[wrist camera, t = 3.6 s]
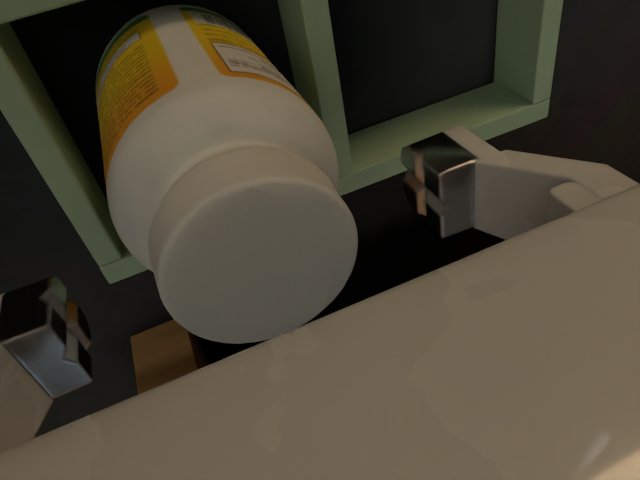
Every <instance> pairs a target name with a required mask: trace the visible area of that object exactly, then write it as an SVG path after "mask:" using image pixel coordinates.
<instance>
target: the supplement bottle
mask: <svg viewBox="0 0 640 480" xmlns="http://www.w3.org/2000/svg"><path fill="white" fill-rule="evenodd" d="M95 91H96V92H95V96H96V103H97V111H98V120H99V127H100V136H101V146H102V153H103V164H104V174H105V183H106V192H107V199H108V206H109V211H110V215H111V218H112V222H113V224H114V227H115V229H116V231H117V233H118V235H119V237H120V239H121V240H122V242H123V243H124V245H125V246H126V248H127V249H128V250H129V251H130V253H131V254H132V255H133V256H134V257H135V258H136V259H137V260H138V261H139V262H140V263H141V264H142V265H144V266H145V267H146V268H148V269H149V270H151V271H152V272H154V276H155V280H156V283H157V287H158V290H159V294H160V297H161V300H162V302H163V304H164V306H165V308H166V309H167V311H168V312H169V313H170V315H171V316H172V317H173V319H174V320H175V321H176V322H178V323H179V324H180V325H181V326H182V327H184V328H185V329H187V330H188V331H190V332H191V333H193V334H195V335H197V336H199V337H201V338H204V339H208V340H212V341H216V342H222V343H236V344H242V343H252V342H258V341H264V340H268V339H271V338H274V337H277V336H279V335H281V334H284V333H286V332H289V331H291V330H293V329H296V328H298V327H300V326H301V325H303V324H305V323H307V322H308V321H310V320H311V319H313V318H314V317H315V316H317V315H318V314H319V313H320V312H321V311H322V310H323V309H324V308H326V307H327V306H328V305H329V304H330V303H331V302H332V301H333V300H334V299H335V298H336V297H337V295H338V294H339V293H340V291H341V290H342V289H343V287H344V285H345V284H346V282H347V280H348V278H349V276H350V275H351V272H352V269H353V267H354V264H355V260H356V256H357V249H358V234H357V228H356V224H355V221H354V218H353V216H352V213H351V212H350V210H349V208H348V206H347V205H346V204H345V202H344V201H343V199H342V198H341V196H340V195H339V194H338V185H339V169H338V160H337V155H336V151H335V148H334V145H333V142H332V139H331V137H330V135H329V133H328V131H327V129H326V127H325V126H324V124H323V122H322V121H321V119H320V118H319V117H318V116H317V114H316V113H315V112H314V111H313V109H312V108H311V107H310V106H309V105H308V103H307V102H306V101H305V100H304V99H303V98H302V97H301V95H300V94H299V93H298V92H297V91H296V90H295V88H294V87H293V86H292V85H291V84H290V83H289V82H288V81H287V80H286V79H285V77H284V76H283V75H282V74H281V73H280V72H279V71H278V70H277V69H276V68H275V66H274V65H273V64H272V63H271V62H270V61H269V60H268V59H267V57H266V56H265V55H264V54H263V52H262V51H261V50H260V49H259V48H258V47H257V46H256V45H255V43H254V42H253V41H252V40H251V39H250V38H249V37H248V36H247V35H246V34H245V33H244V32H243V31H242V30H241V29H240V28H239V27H238V26H237V25H236V24H234V23H233V22H232V21H230V20H229V19H227V18H225V17H224V16H222V15H220V14H218V13H216V12H214V11H211V10H209V9H206V8H202V7H198V6H192V5H167V6H161V7H157V8H153V9H150V10H148V11H146V12H143V13H141V14H139V15H137V16H135V17H134V18H132V19H131V20H129V21H128V22H127V23H125V24H124V25H123V26H122V28H121V29H120V30H119V31H118V32H117V33H116V34H115V35H114V37H113V38H112V40H111V41H110V42H109V44H108V45H107V47H106V49H105V51H104V53H103V55H102V57H101V60H100V62H99V66H98V70H97V75H96V87H95Z"/></svg>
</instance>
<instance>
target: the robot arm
mask: <svg viewBox="0 0 640 480" xmlns="http://www.w3.org/2000/svg"><path fill="white" fill-rule="evenodd" d="M401 162H402V164H403V165H404V166H405V167H406V168H407V169H408V170H407V172H406V174H405V176H404V178H403V183H404V191H405V193H406V196H407V199H408V201H409V203H410V205H411V206H412V208H413V209H414V210H415V211H416V212H417V213H418V214H422V215H426V216H427V224H428V225H429V226H430V227H431V228H432V229H433V230H434V231H435V232H436V233H437V234H438V235H439V236H440V237H441V238H445V237H447V236H450V235H453V234H455V233H458V232H461V231H463V230H466V229H469V228H471V227H474V228H475V229H478V230H481V231H483V232H486V233H489V234H491V235H494V236H497V237H500V238H502V239H505V241H503V242H501V243H498V244H496V245H493V246H491V247H489V248H486V249H484V250H481V251H479V252H477V253H474V254H472V255H470V256H467V257H465V258H462V259H460V260H458V261H455V262H453V263H451V264H448V265H446V266H443V267H441V268H439V269H436V270H434V271H431V272H429V273H427V274H424V275H422V276H420V277H417V278H415V279H412V280H410V281H408V282H405V283H403V284H401V285H398V286H396V287H393V288H391V289H389V290H386V291H384V292H382V293H379V294H377V295H374V296H372V297H370V298H367V299H365V300H362V301H360V302H358V303H355V304H353V305H351V306H348V307H346V308H343V309H341V310H339V311H336V312H334V313H332V314H329V315H327V316H324V317H322V318H320V319H317V320H315V321H312V322H310V323H308V324H305V325H303V326H301V327H298V328H296V329H293V330H291V331H289V332H286V333H284V334H281V335H279V336H277V337H274V338H272V339H270V340H267V341H265V342H262V343H260V344H258V345H255V346H253V347H250V348H248V349H246V350H243V351H241V352H239V353H236V354H234V355H231V356H229V357H227V358H224V359H222V360H220V361H217V362H215V363H212V364H210V365H208V366H205V367H203V368H200V369H198V370H196V371H193V372H191V373H189V374H186V375H184V376H181V377H179V378H177V379H174V380H172V381H169V382H167V383H165V384H162V385H160V386H158V387H155V388H153V389H150V390H148V391H146V392H143V393H141V394H138V395H136V396H134V397H131V398H129V399H127V400H124V401H122V402H119V403H117V404H115V405H112V406H110V407H108V408H105V409H103V410H100V411H98V412H96V413H93V414H91V415H88V416H86V417H84V418H81V419H79V420H77V421H74V422H72V423H69V424H67V425H65V426H62V427H60V428H57V429H55V430H53V431H50V432H48V433H46V434H43V435H41V436H38V437H36V438H34V437H35V435H36V433H37V431H38V429H39V427H40V425H41V423H42V421H43V419H44V418H45V416H46V414H47V412H48V410H49V408H50V406H51V404H52V402H53V400H52V399H54V398H56V397H58V396H61V395H63V394H65V393H68V392H70V391H72V390H74V389H77V388H79V387H81V386H84V385H86V384H88V383H90V382H93V376H92V358H91V356H90V355H89V353H88V352H87V351H86V350H87V348H88V347H89V345H90V344H91V333H90V329H89V326H88V322H87V320H86V318H85V316H84V314H83V312H82V310H81V309H80V307H79V306H78V304H77V303H74V302H72V301H69V300H67V289H66V287H65V286H64V285H63V284H62V282H61V281H60V280H59V278H57V277H55V276H52V277H49V278H46V279H44V280H41V281H38V282H35V283H32V284H29V285H26V286H23V287H21V288H18V289H15V290H12V291H9V292H6V293H5V294H0V480H640V184H639V183H637V182H635V181H634V180H632V179H630V178H629V177H627V176H625V175H623V174H622V173H620V172H618V171H617V170H615V169H613V168H612V167H610V166H608V165H606V164H599V163H592V162H586V161H579V160H572V159H565V158H558V157H552V156H545V155H538V154H531V153H524V152H518V151H511V150H504V151H501V152H500V151H498V150H497V149H495V148H494V147H493V146H491V145H490V144H488V143H487V142H485V141H484V140H483V139H481V138H480V137H478V136H477V135H475V134H474V133H472V132H471V131H470V130H468V129H467V128H465V127H464V126H461V125H457V126H454V127H452V128H449V129H447V130H444V131H442V132H440V133H438V134H435V135H433V136H430V137H428V138H425V139H423V140H420V141H418V142H415V143H412V144H410V145H407V146H405V147H402V151H401ZM33 438H34V439H33Z"/></svg>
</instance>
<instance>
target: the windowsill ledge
mask: <svg viewBox="0 0 640 480" xmlns="http://www.w3.org/2000/svg"><path fill="white" fill-rule="evenodd" d="M130 339H131V346H132V353H133V360H134V367H135V374H136V381H137V388H138V394H141V393H143V392H146V391H148V390H150V389H153V388H155V387H158V386H160V385H162V384H165V383H167V382H169V381H172V380H174V379H177V378H179V377H181V376H184V375H186V374H189V373H191V372H193V371H196V370H198V369H200V368H203V367H205V366H208V365H210V364H209V362H208V360H207V358H206V356H205V355H204V353H203V351H202V349H201V347H200V345H199V343H198V341H197V339H196V337H195V335H194V334H193V333H191V332H190V331H188V330H187V329H185V328H184V327H182V326H181V325H180V324H179V323H178V322H176V321H175V320H174V319H173V320H170V321H168V322H165V323H163V324H160V325H158V326H156V327H153V328H151V329H148V330H146V331H143V332H141V333H138V334H136V335H133V336H131V337H130Z"/></svg>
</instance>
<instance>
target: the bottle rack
mask: <svg viewBox="0 0 640 480" xmlns="http://www.w3.org/2000/svg"><path fill="white" fill-rule="evenodd" d="M81 1H85V0H0V110H1V111H2V113H3V115H4V116H5V118H6V119H7V121H8V123H9V124H10V126H11V127H12V129H13V130H14V132H15V134H16V135H17V137H18V138H19V140H20V142H21V143H22V145H23V146H24V148H25V150H26V151H27V153H28V154H29V156H30V158H31V159H32V161H33V162H34V164H35V165H36V167H37V169H38V170H39V172H40V173H41V175H42V177H43V178H44V180H45V181H46V183H47V185H48V186H49V188H50V189H51V191H52V192H53V194H54V196H55V197H56V199H57V200H58V202H59V204H60V205H61V207H62V208H63V210H64V212H65V213H66V215H67V216H68V218H69V220H70V221H71V223H72V224H73V226H74V227H75V229H76V231H77V232H78V234H79V235H80V237H81V239H82V240H83V242H84V243H85V245H86V247H87V248H88V250H89V251H90V253H91V255H92V256H93V258H94V259H95V261H96V262H97V264H98V265H99V266H100V269H101V271H102V273H103V274H104V276H105V277H106V279H107V281H108V282H109V283H110V284H111V283H114V282H117V281H119V280H122V279H125V278H127V277H130V276H132V275H135V274H138V273H140V272H143V271H145V270H148V268H146V267H145V266H144V265H142V264H141V263H140V262H139V261H138V260H137V259H136V258H135V257H134V256H133V255H132V254H131V253H130V251H129V250H128V249H127V248H126V246H125V245H124V243H123V242H122V240H121V239H120V237H119V235H118V233H117V231H116V229H115V227H114V224H113V222H112V218H111V215H110V211H109V206H108V201H107V199H106V198H105V196H104V194H103V192H102V190H101V189H100V187H99V185H98V183H97V181H96V179H95V178H94V176H93V174H92V172H91V170H90V169H89V167H88V165H87V163H86V161H85V159H84V158H83V156H82V154H81V152H80V150H79V149H78V147H77V145H76V143H75V141H74V139H73V138H72V136H71V134H70V132H69V130H68V128H67V127H66V125H65V123H64V121H63V119H62V118H61V116H60V114H59V112H58V110H57V108H56V107H55V105H54V103H53V101H52V99H51V98H50V96H49V94H48V92H47V90H46V88H45V87H44V85H43V83H42V81H41V79H40V78H39V76H38V74H37V72H36V70H35V68H34V67H33V65H32V63H31V61H30V59H29V58H28V56H27V54H26V52H25V50H24V48H23V47H22V45H21V43H20V41H19V39H18V38H17V36H16V34H15V32H14V30H13V28H12V27H11V25H10V23H9V22H10V21H14V20H17V19H21V18H25V17H28V16H32V15H35V14H39V13H42V12H46V11H49V10H53V9H56V8H60V7H63V6H67V5H70V4H74V3H78V2H81ZM278 5H279V10H280V15H281V19H282V24H283V29H284V34H285V38H286V43H287V48H288V53H289V58H290V62H291V67H292V72H293V77H294V81H295V86H296V91H297V92H298V93H299V94H300V95H301V97H302V98H303V99H304V100H305V101H306V102H307V103H308V105H309V106H310V107H311V108H312V109H313V111H314V112H315V113H316V114H317V116H318V117H319V118H320V119H321V121H322V122H323V124H324V126H325V127H326V129H327V131H328V133H329V135H330V137H331V139H332V142H333V145H334V148H335V151H336V155H337V160H338V169H339V185H338V194H339V195H340V196H342V195H344V194H347V193H349V192H352V191H355V190H357V189H360V188H363V187H365V186H368V185H370V184H373V183H376V182H378V181H381V180H383V179H386V178H389V177H391V176H394V175H397V174H399V173H402V172H404V171H407V170H408V169H407V168H406V167H405V166H404V165H403V164H402V162H401V151H402V147H405V146H407V145H410V144H412V143H415V142H418V141H420V140H423V139H425V138H428V137H430V136H433V135H435V134H438V133H440V132H442V131H444V130H447V129H449V128H452V127H454V126H457V125H461V126H464V127H465V128H467V129H468V130H470V131H471V132H472V133H474V134H475V135H477V136H478V137H480V138H481V139H483V140H484V141H485V140H488V139H491V138H493V137H496V136H499V135H501V134H504V133H506V132H509V131H512V130H514V129H517V128H519V127H522V126H525V125H527V124H530V123H533V122H535V121H538V120H540V119H543V118H546V117H547V116H548V110H549V102H550V99H549V98H550V94H551V87H552V79H553V72H554V64H555V57H556V50H557V42H558V35H559V27H560V20H561V13H562V5H563V0H498V11H497V29H496V46H495V64H494V82H493V83H490V84H487V85H485V86H482V87H479V88H476V89H474V90H471V91H468V92H465V93H462V94H460V95H457V96H454V97H451V98H449V99H446V100H443V101H440V102H438V103H435V104H432V105H429V106H426V107H424V108H421V109H418V110H415V111H413V112H410V113H407V114H404V115H401V116H399V117H396V118H393V119H390V120H388V121H385V122H382V123H379V124H377V125H374V126H371V127H368V128H365V129H363V130H360V131H357V132H354V133H352V134H349V135H348V133H347V126H346V120H345V113H344V106H343V99H342V93H341V86H340V79H339V73H338V66H337V59H336V53H335V46H334V39H333V33H332V26H331V19H330V13H329V6H328V0H278Z"/></svg>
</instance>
